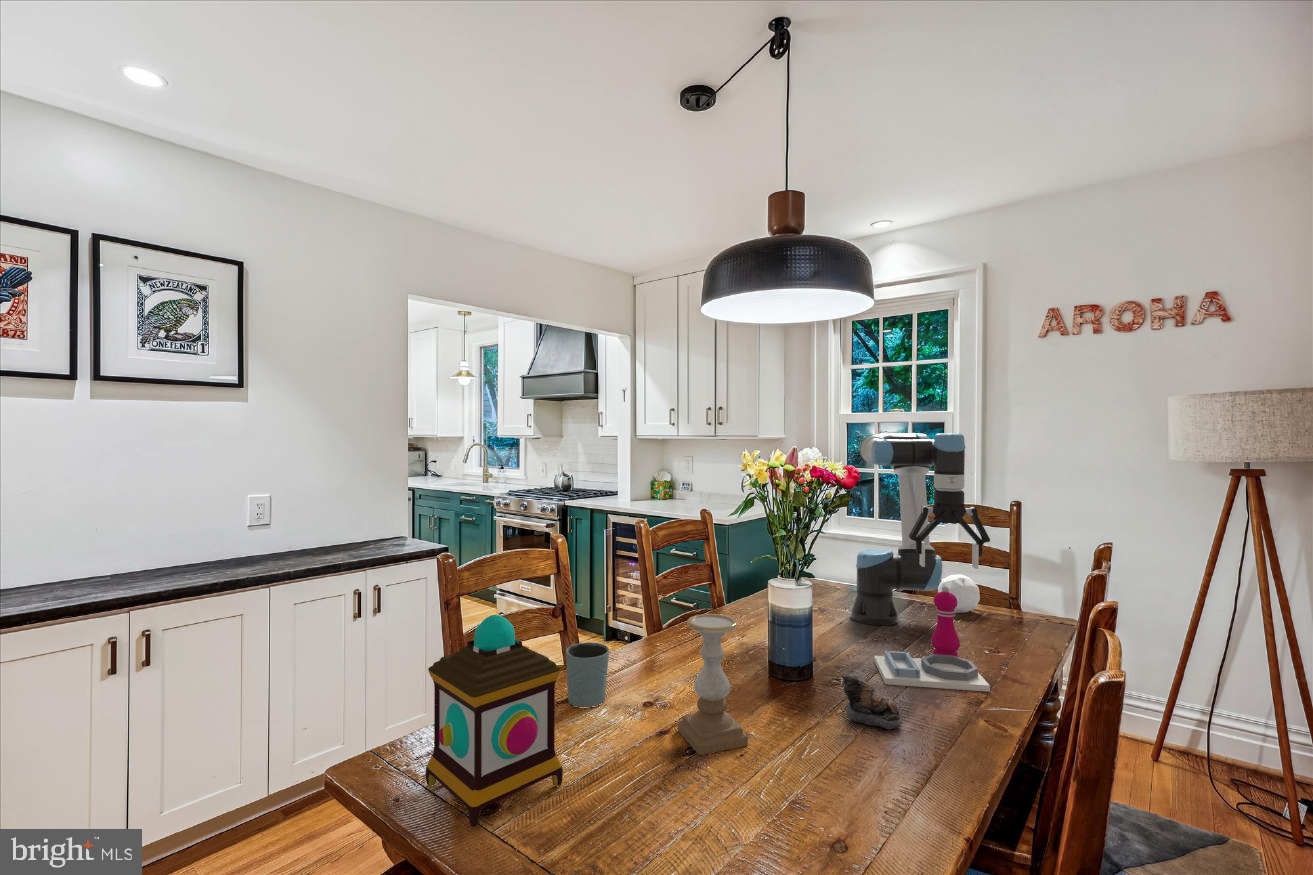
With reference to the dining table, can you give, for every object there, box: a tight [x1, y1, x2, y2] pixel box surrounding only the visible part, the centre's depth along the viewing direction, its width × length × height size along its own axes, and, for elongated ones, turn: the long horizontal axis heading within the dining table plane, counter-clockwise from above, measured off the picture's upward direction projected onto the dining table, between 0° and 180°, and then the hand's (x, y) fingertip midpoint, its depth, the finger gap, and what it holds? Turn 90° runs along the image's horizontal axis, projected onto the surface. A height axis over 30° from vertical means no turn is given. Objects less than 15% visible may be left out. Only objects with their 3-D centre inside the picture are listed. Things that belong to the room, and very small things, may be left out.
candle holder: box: [677, 613, 749, 756], centre depth 122 cm, size 11×11×24 cm
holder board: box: [873, 650, 991, 693], centre depth 155 cm, size 16×24×4 cm, turn 80°
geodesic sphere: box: [937, 573, 981, 614], centre depth 213 cm, size 14×14×14 cm
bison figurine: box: [842, 673, 903, 730], centre depth 128 cm, size 12×7×10 cm, turn 70°
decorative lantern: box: [425, 614, 564, 828], centre depth 105 cm, size 20×20×30 cm
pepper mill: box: [930, 586, 961, 657], centre depth 167 cm, size 7×7×20 cm
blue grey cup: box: [565, 642, 610, 707], centre depth 139 cm, size 10×10×12 cm
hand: (948, 566), depth 165 cm, fingers open, 13 cm apart
